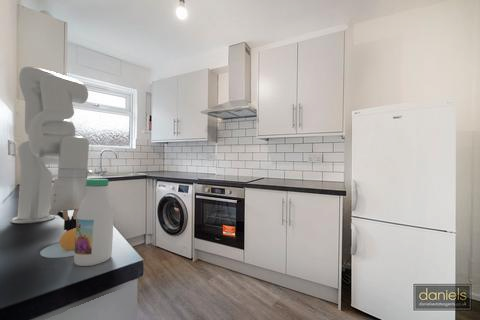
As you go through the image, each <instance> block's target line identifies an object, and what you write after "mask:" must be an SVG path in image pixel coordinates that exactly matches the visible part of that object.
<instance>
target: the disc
mask: <svg viewBox="0 0 480 320" xmlns="http://www.w3.org/2000/svg"><path fill="white" fill-rule="evenodd" d="M39 254H40V256H41V257H43V258H49V259H57V258H58V259H60V258H69V257H74V250H65V249H63V248H62V247H61V245H60V242H58V243H55V244H50V245H49V246H47V247H45V248H43V249H42V250H40V252H39Z"/></svg>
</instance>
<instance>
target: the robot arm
mask: <svg viewBox="0 0 480 320" xmlns="http://www.w3.org/2000/svg"><path fill="white" fill-rule="evenodd" d="M18 75H19V76H18V82H19V88H20V91H21V94H22V95H23V99H24V130H25V133H26V135H27V136H28V140H26V141H23V142H21V144H20V145H19V146H18V159H19V167H20V171H19V172H20V174H19V191H18V205H17V206H18V208H17V216H15V217H12V218H11V223H12V224H13V223H14V224H34V223H40V222H42V223H43V222H47V221H50V220H53V219H55V218H56V216H58V217H60V218H61V219H62V220H63V221H64V222H63V230H64V231H66V232H67V231H68V230H71V229H76V220H77V213H78V210H79V207H80V205H81V203H82V202H83V200H84V198H85V196H86V193H87V188H86V181H87V179H90V178H88V176H92V175H93V173H94V172H93V170H89V169H88V166H89V152H90V151H89V149H90V147H89V146H90V141H89V139H88V138H87V137H84V136H79V135H76V128H75V125H74V122H72V120H70V119H71V118H72V117H73V116H74V114H75V110H74V105H73V103H76V104H82V105H83V104H85V103H86V102H87V100H88V99H89V90H88V87H87V86H86V84H84V83H83V82H82V81H79V80H77V79H75V78H73V77H68V76H66V75H62V74H60V73H56V72H54V71H50V70H47V69H44V68H41V67H40V68H39V67H35V66H24V67H22V68H21V69H20V72H19V74H18ZM50 165H51V166H54V165H55V166H57V168H58V169H57V177H56V178H54V179H53V173H52V172H51V170H50V169H48V167H47V166H50ZM68 211H73V213H72V216H71V217H70V216H69V212H68Z"/></svg>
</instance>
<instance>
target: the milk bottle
mask: <svg viewBox="0 0 480 320" xmlns="http://www.w3.org/2000/svg"><path fill="white" fill-rule="evenodd" d="M86 188H87V193H86V196H85V198H84V200H83V202H82V203H81V205H80V207H79V210H78V213H77V219H76V233H75V250H74V256H73V263H74V264H75V265H76V266H78V267H89V266H90V267H91V266H96V265H100V264H102V263H105V262H107V261H108V260H110V259H111V258H112V255H113V237H114V236H113V235H114V207H113V204H112V201H111V199H110V198H109V195H108V188H109V179H107V178H89V179H87V181H86Z"/></svg>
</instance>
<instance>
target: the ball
mask: <svg viewBox="0 0 480 320" xmlns="http://www.w3.org/2000/svg"><path fill="white" fill-rule="evenodd" d="M75 233H76V229H71V230H68V231H66V232H64V233H63V234H62V235H61V237H60V239H59V243H60V245H61V247H62V248H63V249H65V250H75Z"/></svg>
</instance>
